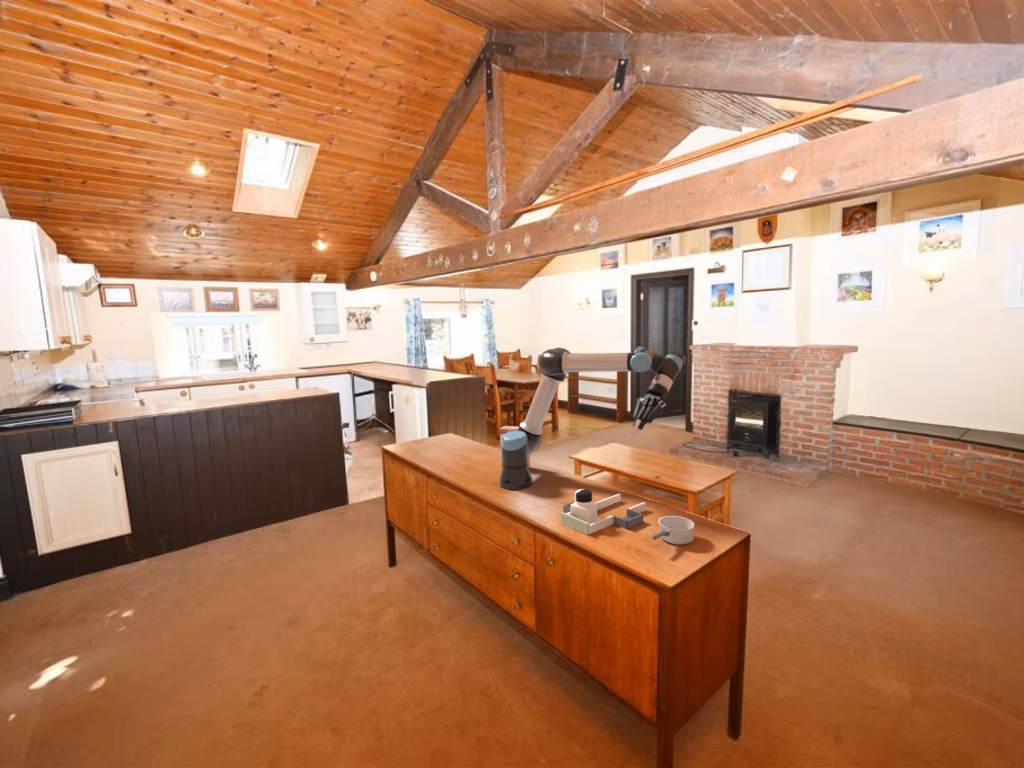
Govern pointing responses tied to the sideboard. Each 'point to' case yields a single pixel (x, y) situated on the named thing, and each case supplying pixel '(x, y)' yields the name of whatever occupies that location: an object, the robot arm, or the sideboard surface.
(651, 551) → the sideboard surface
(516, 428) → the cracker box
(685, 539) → the saucepan
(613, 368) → the robot arm
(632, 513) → the channel
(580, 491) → the medicine bottle
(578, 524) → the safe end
